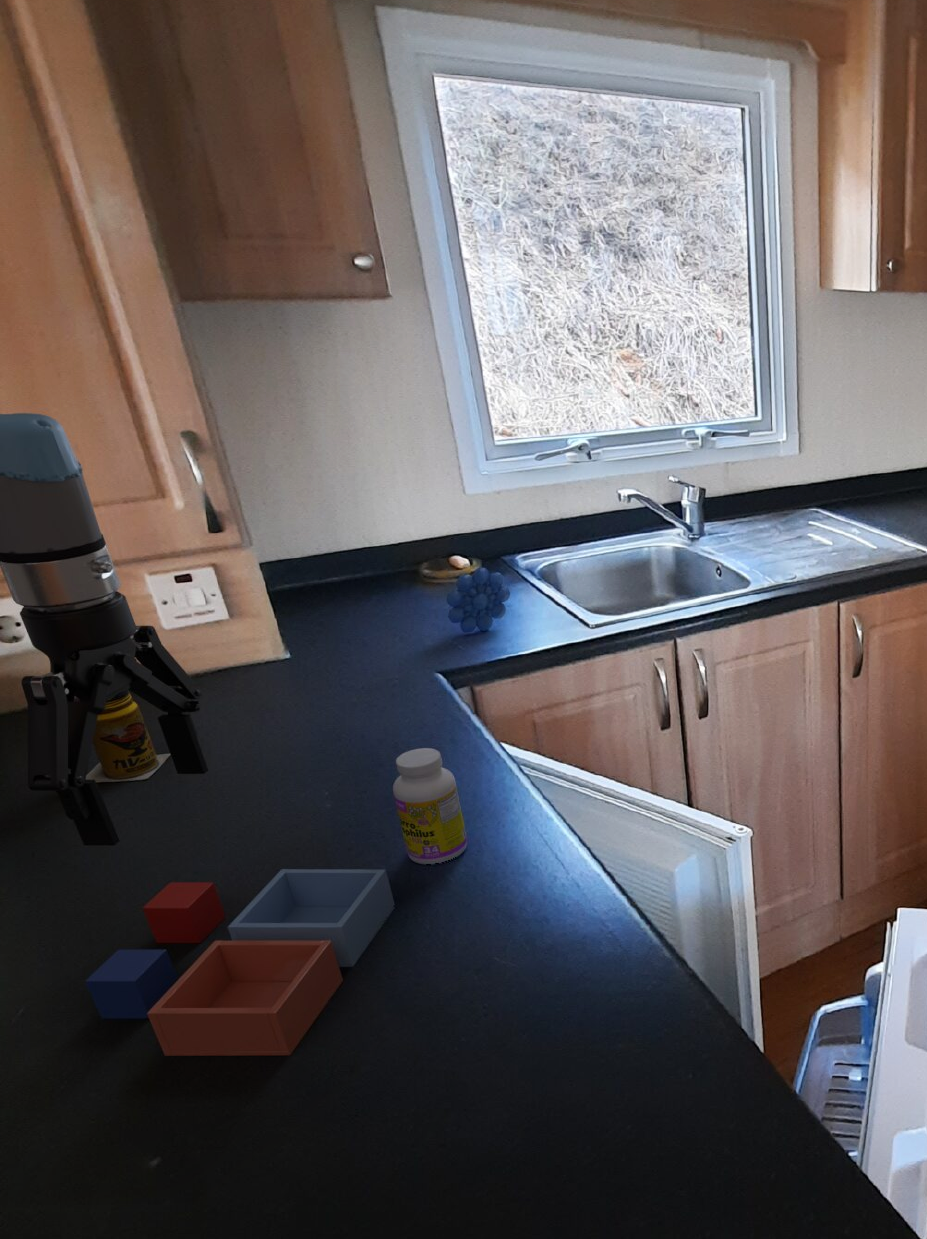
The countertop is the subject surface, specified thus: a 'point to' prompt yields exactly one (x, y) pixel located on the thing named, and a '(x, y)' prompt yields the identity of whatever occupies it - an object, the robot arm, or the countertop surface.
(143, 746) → the condiment
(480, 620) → the blue sphere cluster
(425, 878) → the countertop surface
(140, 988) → the blue block
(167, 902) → the red block
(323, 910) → the blue bin
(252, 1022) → the red bin
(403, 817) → the supplement bottle
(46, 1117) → the countertop surface
